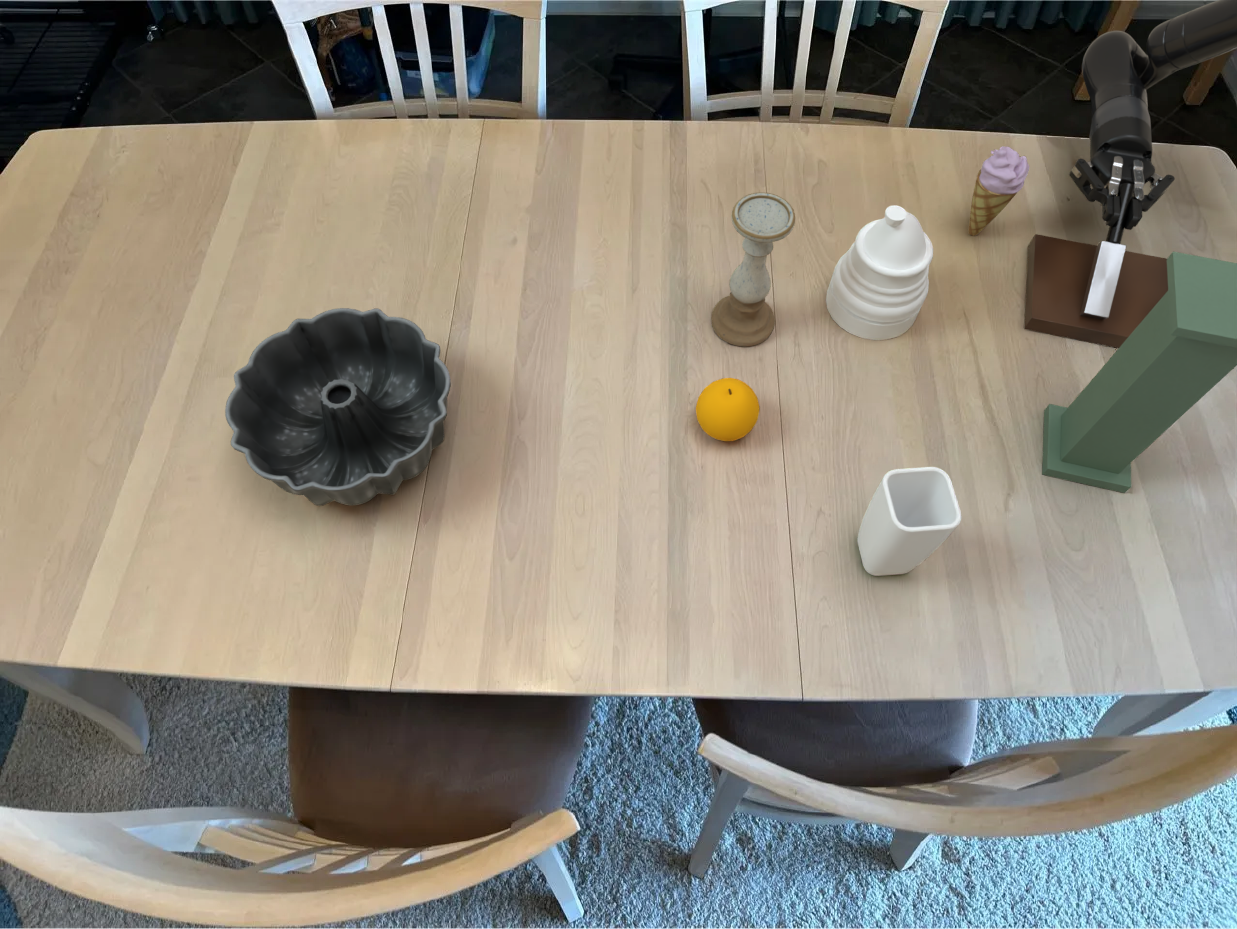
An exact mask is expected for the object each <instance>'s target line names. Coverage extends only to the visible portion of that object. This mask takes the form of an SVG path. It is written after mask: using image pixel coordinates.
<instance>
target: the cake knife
mask: <svg viewBox="0 0 1237 929" xmlns="http://www.w3.org/2000/svg"><path fill="white" fill-rule="evenodd" d="M1134 188H1135V185H1133V184H1130V183H1124V184H1121V185H1120V186H1119V191H1118V194H1117V195H1116V196H1119V197H1120V216H1119V218H1118V219H1117V221H1116V222H1115V224H1114V225H1113V226H1108V230H1107V235H1106V239H1105V240H1101V241H1099V242H1098V243H1097V249H1096V253H1095V257H1094V261H1093V265H1092V269H1091V273H1090V277H1089V281H1088V285H1087V289H1086V293H1085V297H1084V301H1083V305H1082V309H1081V313H1080V315H1083V316H1088V317H1093V318H1098V319H1103V320H1104V319H1107V318H1109V314H1110V310H1111V306H1112V302H1113V298H1114V294H1115V290H1116V286H1117V282H1118V278H1119V274H1120V270H1121V266H1122V262H1123V258H1124V254H1125V251H1127V250H1126V249H1127V245H1126V244H1122V239H1123V236H1124V232H1125V224H1126V220H1127V216H1128V212H1129V208H1130V204H1131V200H1132V196H1133V192H1134Z"/></svg>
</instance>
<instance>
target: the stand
mask: <svg viewBox="0 0 1237 929" xmlns="http://www.w3.org/2000/svg"><path fill="white" fill-rule="evenodd" d="M1166 259H1167V275H1168V291H1167V292H1166V294H1165V295H1164V296H1163V297H1162V298H1161V299H1160V301H1159V302H1158V303H1157V304H1156V305H1155V306H1154V308H1153V309H1152V310H1151V311H1150V312H1149V313H1148V315H1147V316H1146V317H1145V318H1144V319H1143V320H1142V322H1141V323H1140V324H1139V325H1138V326H1137V327H1136V329H1135V330H1134V331H1133V332H1132V333H1131V335H1130V336H1129V337H1128V338H1127V339H1126V340H1125V342H1124V343H1123V344H1122V345H1121V346H1120V347H1119V348H1117V350H1115V352H1114V353H1113V354H1112V356H1111V357H1110V358H1109V359H1108V360H1107V361H1106V362H1105V364H1104V365H1103V366H1102V367H1101V368H1100V369H1099V371H1098V372H1097V373H1096V374H1095V376H1094V377H1093V378H1092V379H1091V380H1090V381H1089V382H1088V384H1087V385H1086V386H1085V387H1084V388H1083V390H1082V391H1081V392H1079V394H1078V395H1077V397H1075V399H1074V400H1073V401H1072V402H1071V403H1070V404H1069V405H1068V406H1067V407H1066V406H1062V405H1057V404H1052V403H1049V404H1047V406H1046V407H1045V409H1044V410H1043V431H1042V433H1043V437H1042V439H1043V440H1042V441H1043V442H1042V463H1041V464H1042V465H1041V466H1042V467H1041V475H1042V476H1047V477H1050V478H1056V479H1060V480H1065V481H1069V482H1073V483H1077V484H1081V485H1082V484H1083V485H1086V486H1092V487H1096V488H1100V489H1104V490H1109V491H1112V492H1113V491H1114V492H1117V493H1123V494H1125V493H1127V492H1128V491H1129V490H1130V489H1132V462H1134V461H1135V460H1136V459H1137V458H1138V457H1139V456H1140V455H1141V454H1142V453H1143V452H1144V451H1146V450H1147V449H1148V448H1149V447H1150V446H1151V445H1152V444H1153V443H1154V442H1156V440H1157V439H1158V438H1160V437H1161V436H1162V435H1164V433H1165V432H1166V431H1168V430H1169V428H1170V427H1171V426H1172V425H1174V424H1175V423H1176V422H1177V421H1178V420H1180V419H1181V417H1182V416H1184V414H1186V413H1187V412H1188V411H1189V410H1190V409H1191V408H1192V407H1194V406H1195V405H1196V404H1197V403H1198V402H1199V401H1200V400H1201V399H1202V398H1203V397H1204V396H1206V394H1208V392H1210V391H1211V390H1212V389H1213V388H1214V387H1215V386H1217V384H1218V383H1219V382H1221V381H1222V380H1223V379H1224V378H1225V377H1227V375H1228V374H1229V373H1230V372H1231V371H1233V369H1235V368H1236V367H1237V262H1233V261H1227V260H1222V259H1217V258H1210V257H1207V256H1206V257H1205V256H1200V255H1195V254H1190V253H1185V252H1179V251H1172V252H1171V253H1170V254H1169V256H1168V257H1167V258H1166Z"/></svg>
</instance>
